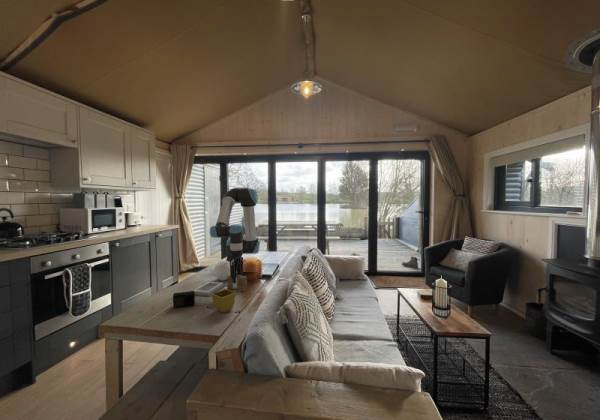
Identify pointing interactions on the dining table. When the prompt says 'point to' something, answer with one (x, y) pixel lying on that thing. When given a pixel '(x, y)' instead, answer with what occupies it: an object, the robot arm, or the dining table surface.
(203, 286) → the grey flat frame
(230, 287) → the walnut block
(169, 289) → the dining table surface
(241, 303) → the dining table surface
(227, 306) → the flower pot
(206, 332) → the dining table surface
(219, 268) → the geodesic sphere
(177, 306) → the digital camera
